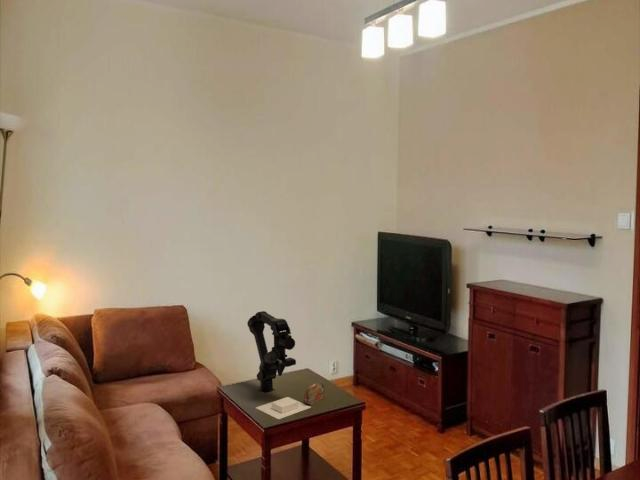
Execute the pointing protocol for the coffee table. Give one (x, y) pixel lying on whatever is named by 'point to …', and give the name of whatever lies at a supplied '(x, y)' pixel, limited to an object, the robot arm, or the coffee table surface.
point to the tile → (285, 405)
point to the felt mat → (268, 409)
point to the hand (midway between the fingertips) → (279, 375)
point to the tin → (314, 393)
